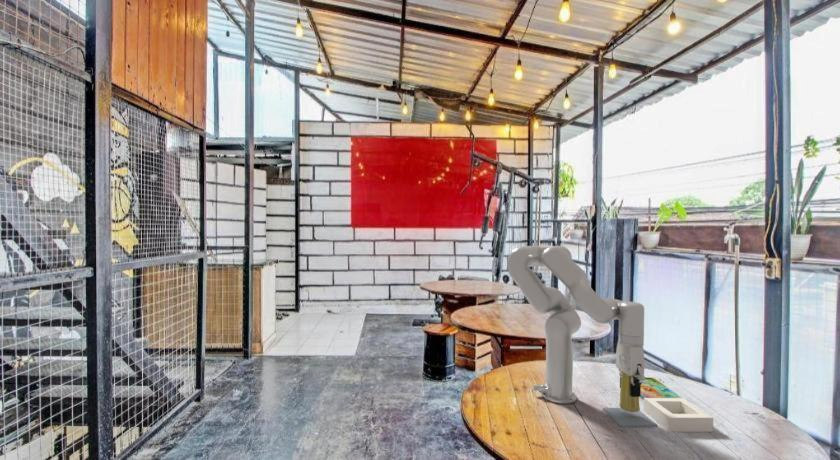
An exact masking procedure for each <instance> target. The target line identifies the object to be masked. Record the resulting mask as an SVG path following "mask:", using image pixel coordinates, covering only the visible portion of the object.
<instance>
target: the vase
mask: <svg viewBox="0 0 840 460" xmlns="http://www.w3.org/2000/svg"><path fill="white" fill-rule="evenodd" d="M635 375H637V373H635ZM636 379H637V377H634V380H636ZM630 384H632V383H631V376H628V375H627V374H625V373H624V372H622V371H621V388H620V390H619V391H620V392H619V394H620V395H619V404H618V405H619V408H622V409H624V410H626V411H630V412H638V411H639V410H640V411H641V409H640V407H641V406H640V397H631V396H630Z"/></svg>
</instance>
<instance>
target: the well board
mask: <svg viewBox="0 0 840 460" xmlns="http://www.w3.org/2000/svg"><path fill="white" fill-rule="evenodd" d="M643 412H645V414H647V415H648V417H649V416H650V417H651V418H652V419H653V420H654V421H656V423H659V425H661V427H663V428H664V429H666V430H667V431H668V432H669V433H672V432H673V433H676V432H677V433H679V432H681V433H682V432H683V433H688V432H689V433H697V432H698V433H701V432H704V433H706V432H707V433H709V432H710V433H711V432H712V433H713V432H714V417H713V416H712V415H710V414H708V413H707V412H706V411H704V410H702V409H701V408H699V407H697V406H696V405H694V404H693V403H691V402H689V400H686V399H685V398H684V397H682V398H644V400H643Z"/></svg>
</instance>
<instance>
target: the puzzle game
mask: <svg viewBox="0 0 840 460" xmlns="http://www.w3.org/2000/svg"><path fill="white" fill-rule="evenodd" d="M639 398H641V399H642V400H643V401H644V398H683V397H682V396H680V395H679V394H677V393H676V392H675V391H673V390H672V389H670V388H669V387H667V386H666V385H665V384H663V383H662V382H660V381H659V380H657V379H656V378H655V377H646V376H645V381H643V383H642V385H641V393H640V397H639Z"/></svg>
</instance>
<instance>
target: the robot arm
mask: <svg viewBox="0 0 840 460" xmlns="http://www.w3.org/2000/svg"><path fill="white" fill-rule="evenodd" d="M506 263H507V265H506V266H507V267H506V268H507V271H508V273H509V276H510V277H511V279H512V280H513V281H514V283H515V284H516V286H518V288H519V290H520V291H521V293H522V294H523V296H524V297H525V298H526V300H527V301H528V303H529V304H530V306H531V307H532V309H533V310H534V311H535V312H536V313H538V314H540V315H544V314H549V315H550V316H548V318H547V319H546V320H545V324H544V335H545V356H546V357H545V381H542V383H541V384H540V385H539V384H532V390H533V391H538V393H540V394H541V396H542V398H543V399H545V400H547V401H549V402H552V403H557V404H562V405H563V404H565V405H566V404H568V405H569V404H573V403H574V402H576V401H577V395H576V393H575V392H573V371H574V368H573V367H574V363H573V362H574V357H573V356H574V348H573V347H574V346H573V340H572V336H573V335H574V334H575V333H577V332H578V331H579V330H580V328H581V325H582V319H581V317H580V315H579V314H578V312H577V311H576V309H575V308H574V307H573V305H572V304H571V303H570V301H569V300H568V299H567V297H566V296H565V295H564V294H563V292H562V291H561V290H560V289H558V288H557V287H554V286H546V285H544V283H543V282H542V281H541V279H540V277H538V275H537V274H536V273H535V272H534V271H532V270H531V267H545V268H547V269H548V271H550V272H551V273H552V274H553V275H554V276H555V277H556V278H557V279H558V280H559V281H560V282H561V283H562V284H563V285H564V286H565V287H566V288H567V289H568V291H569V294H570V295H571V296H572V297H573V300H574V301H575V302H576V304H577V305H578V307H580V309H581V310H583V312H585V314H586V315H587V316H589V317H590V318H591V319H592V320H593V321H594V322H596V323H598V324H604V325H605V324H610V323H611V322H612V321H615V320H618V340H617V344H616V351H615V367H616V368H617V369H618V370H619V388H620V389H621V371H622V372H624V373H625V374H627V375H628V376H631V383H632V384H630V396H631V397H639V398H641V397H640V393H641V385H642V383H643V381H645V377H646V376H645V351H644V345H645V344H644V341H645V340H644V339H645V337H644V336H645V307H644V305H643V304H642V303H640V302H636V301H624V300H620V299H616V298H612V297H606V298H602V297H601V296H600V295H598V294H597V293H596V291H594V289H593V288H592V287H591V286H590V283H589V281H588V276H587V273H586V271H584V270H583V269H582V268H581V267H580V266H579V265H578V264H577V263H576V262H575V261H574V260H573V258H572V253H571V251H570V250H569V249H568V248H567V247H566V246H562V245H526V246H525V245H523V246H519V247H516V248H514V249H513V250H512V251H511V252H510V253H509V255H508V257H507V261H506ZM635 373H637V375H635ZM634 377H637V379H636V380H634Z"/></svg>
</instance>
